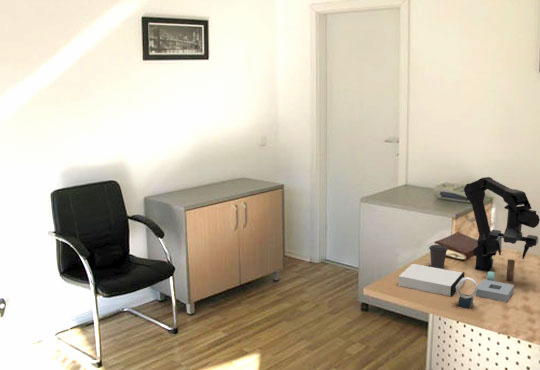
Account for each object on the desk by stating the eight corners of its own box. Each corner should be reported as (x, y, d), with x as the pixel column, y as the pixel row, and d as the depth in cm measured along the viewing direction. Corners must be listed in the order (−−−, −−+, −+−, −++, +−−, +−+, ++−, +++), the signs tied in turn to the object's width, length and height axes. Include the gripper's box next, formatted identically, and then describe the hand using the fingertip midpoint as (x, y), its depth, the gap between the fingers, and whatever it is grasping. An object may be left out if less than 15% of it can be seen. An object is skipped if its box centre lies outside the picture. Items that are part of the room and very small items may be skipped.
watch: (456, 300, 239) (457, 273, 237) (477, 304, 236) (479, 277, 233) (453, 305, 234) (454, 278, 232) (474, 309, 231) (476, 282, 228)
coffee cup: (432, 262, 281) (433, 242, 279) (449, 266, 276) (450, 245, 274) (425, 268, 274) (426, 246, 272) (442, 271, 270) (444, 250, 268)
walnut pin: (505, 281, 259) (507, 260, 257) (506, 278, 261) (508, 258, 259) (512, 282, 257) (514, 262, 255) (513, 280, 259) (515, 260, 257)
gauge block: (475, 295, 244) (475, 288, 243) (483, 286, 253) (483, 279, 253) (507, 302, 237) (507, 295, 237) (513, 291, 247) (514, 285, 246)
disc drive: (452, 297, 243) (452, 286, 242) (398, 286, 255) (398, 275, 254) (464, 283, 257) (464, 272, 256) (412, 273, 269) (412, 262, 268)
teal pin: (486, 284, 255) (486, 273, 254) (487, 282, 258) (488, 271, 256) (493, 285, 254) (493, 274, 253) (494, 283, 256) (495, 272, 255)
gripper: (486, 222, 252) (483, 258, 255) (535, 229, 242) (531, 267, 245) (493, 216, 261) (490, 251, 264) (540, 222, 251) (536, 258, 254)
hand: (511, 257), depth 257 cm, fingers open, 9 cm apart
